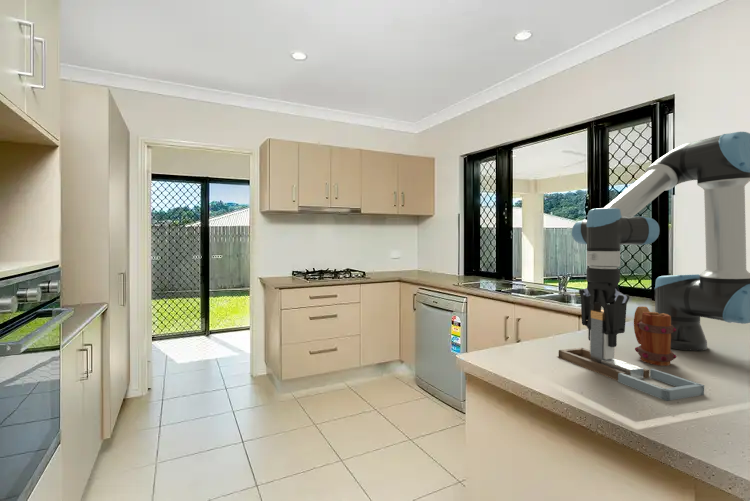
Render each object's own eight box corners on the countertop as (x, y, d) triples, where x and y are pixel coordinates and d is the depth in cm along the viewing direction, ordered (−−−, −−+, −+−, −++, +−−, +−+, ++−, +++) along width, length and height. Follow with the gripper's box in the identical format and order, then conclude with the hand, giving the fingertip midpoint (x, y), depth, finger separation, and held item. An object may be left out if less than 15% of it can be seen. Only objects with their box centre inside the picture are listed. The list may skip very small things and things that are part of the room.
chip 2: (627, 373, 93) (628, 363, 93) (643, 378, 89) (643, 368, 89) (615, 374, 92) (615, 364, 92) (630, 380, 88) (630, 370, 88)
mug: (682, 371, 97) (683, 314, 97) (647, 369, 99) (648, 313, 98) (652, 355, 111) (653, 305, 111) (622, 353, 113) (623, 304, 113)
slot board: (584, 356, 110) (584, 347, 110) (651, 381, 91) (651, 369, 90) (556, 359, 107) (556, 350, 107) (619, 385, 88) (619, 373, 88)
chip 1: (613, 368, 97) (613, 358, 97) (627, 373, 93) (627, 363, 93) (601, 369, 96) (601, 359, 96) (615, 374, 92) (615, 364, 92)
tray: (653, 380, 91) (653, 368, 91) (704, 399, 80) (704, 385, 80) (618, 385, 88) (618, 373, 88) (666, 405, 77) (666, 391, 77)
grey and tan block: (600, 361, 100) (601, 309, 100) (612, 365, 97) (613, 312, 97) (590, 362, 99) (590, 310, 99) (601, 366, 96) (602, 312, 96)
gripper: (566, 265, 105) (566, 348, 105) (620, 270, 89) (619, 367, 89) (588, 265, 107) (587, 346, 107) (644, 269, 91) (643, 364, 91)
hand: (601, 356), depth 98 cm, fingers closed on grey and tan block, 3 cm apart
